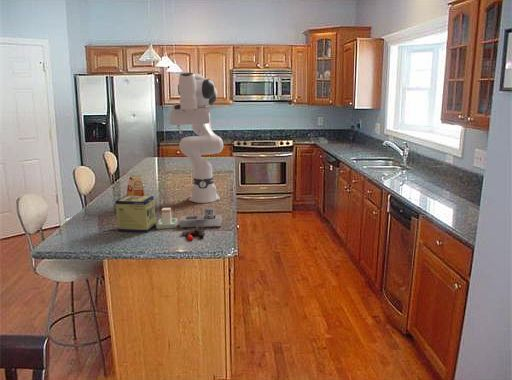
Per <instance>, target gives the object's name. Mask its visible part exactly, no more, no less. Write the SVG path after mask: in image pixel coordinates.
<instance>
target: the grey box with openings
mask: <svg viewBox="0 0 512 380" xmlns="http://www.w3.org/2000/svg"><path fill="white" fill-rule="evenodd" d="M178 221H179V229H196V225H197V226H198V229H199V228H200V229H203V228H221V227H222V214H215V207H210V206H209V207H207V206H206V207H205V208H204V214H199V215H198V214H197V215H196V214H195V215H181V217H179V220H178Z"/></svg>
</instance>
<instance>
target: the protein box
mask: <svg viewBox="0 0 512 380" xmlns="http://www.w3.org/2000/svg"><path fill="white" fill-rule="evenodd" d="M154 197H155V196H154V195H145V196H127V195H124V196H122V197H121V198H119V199H117V200H115V210H116V211H115V212H116V220H117V221H116V222H117V231H118V232H121V233H122V232H125V233H145V234H146V233H147V234H148V233H149V232H150V231H152V229H154V228H155V227H156V224H157V223H156V214H155V213H156V211H155V210H156V209H155V198H154Z"/></svg>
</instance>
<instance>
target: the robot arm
mask: <svg viewBox="0 0 512 380" xmlns="http://www.w3.org/2000/svg"><path fill="white" fill-rule="evenodd" d="M214 83H215V82H214V81H213V80H211V79H210V78H205V77H204V76H203V75H202V74H200V73H196V72H182V73H180V74H179V77H178V84H177V93H178V96H179V102H178V103H176V104H172V105H170V108H171V110H170V112H169V125H171V126H176V128H177V130H178V131H179V134H180V135H183V133H184V132H183V129H181V128H180V127H181V125H191V126H192V127H191V128H192V131H193V133H195V134H196V135H195V136H185V137H182V138H181V140H180V141H179V150H180V152H181V153H182V154H183V155H185V156H186V157H187V158H188V159H189V161H190V162H191V165H192V169H193V179H192V181H193V185H192V186H191V197H189V198H188V201H189V202H193V203H199V204H206V203H212V202H216V201H220V200H221V197H220V196H219V194H218V192H217V187H216V185H215V184H214V176H213V165H212V163H211V162H210V161H208V160H206V159H204V158H203V157H202V155H203V156H204V155H214V154H219V153H221V152H222V151H223V149H224V141H223V139H222V137H220V136H218V134H216V133H215V132H214V131H213V129H212V125H211V124H212V123H211V111H210V106H211V107H212V106H213V104H214V103H215V102H216V101H217V98H218V89H217V88H216V86H215V84H214Z"/></svg>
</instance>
